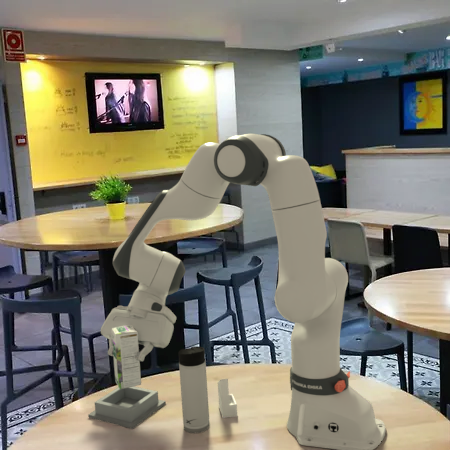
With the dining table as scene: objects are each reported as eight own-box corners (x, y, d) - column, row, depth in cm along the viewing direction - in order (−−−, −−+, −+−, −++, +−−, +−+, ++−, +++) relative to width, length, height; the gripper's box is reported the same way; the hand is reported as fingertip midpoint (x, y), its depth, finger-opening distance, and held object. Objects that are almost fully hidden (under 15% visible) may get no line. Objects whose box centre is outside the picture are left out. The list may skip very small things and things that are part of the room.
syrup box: (114, 381, 153) (109, 328, 150) (137, 376, 155) (132, 323, 152) (119, 390, 148) (114, 334, 145) (142, 385, 150) (138, 330, 147)
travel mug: (189, 436, 137) (183, 355, 134) (180, 424, 143) (174, 346, 140) (214, 430, 140) (209, 350, 136) (204, 418, 146) (198, 341, 142)
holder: (165, 403, 154) (164, 390, 154) (132, 428, 142) (131, 414, 142) (123, 394, 161) (122, 381, 160) (88, 417, 149) (87, 403, 148)
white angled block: (225, 416, 141) (220, 379, 144) (220, 419, 150) (216, 383, 153) (240, 414, 141) (235, 377, 144) (234, 417, 150) (230, 382, 153)
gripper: (108, 299, 159) (86, 346, 152) (171, 307, 149) (150, 358, 142) (120, 310, 164) (100, 356, 157) (182, 318, 154) (163, 368, 147)
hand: (124, 357), depth 149 cm, fingers closed on syrup box, 8 cm apart
